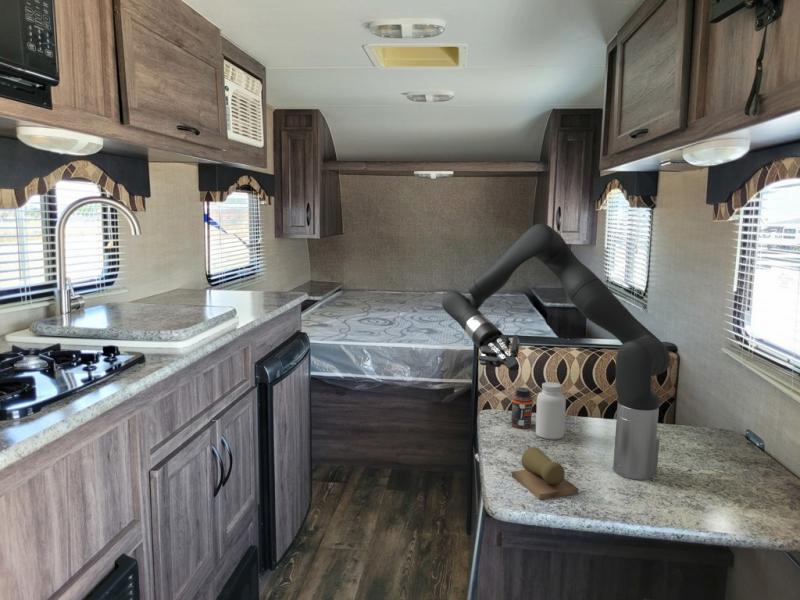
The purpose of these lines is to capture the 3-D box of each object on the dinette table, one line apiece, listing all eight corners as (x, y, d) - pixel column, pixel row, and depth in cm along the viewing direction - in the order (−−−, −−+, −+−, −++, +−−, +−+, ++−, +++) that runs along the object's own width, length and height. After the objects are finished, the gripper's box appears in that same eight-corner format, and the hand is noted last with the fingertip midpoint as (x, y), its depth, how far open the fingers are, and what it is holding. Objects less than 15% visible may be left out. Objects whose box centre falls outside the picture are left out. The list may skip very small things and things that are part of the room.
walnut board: (547, 471, 140) (548, 466, 140) (577, 493, 129) (578, 488, 129) (511, 476, 137) (511, 471, 137) (539, 499, 126) (539, 494, 126)
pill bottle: (531, 430, 167) (533, 380, 165) (557, 429, 168) (560, 380, 166) (540, 440, 159) (543, 388, 157) (568, 440, 160) (571, 388, 158)
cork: (527, 443, 139) (552, 458, 128) (547, 452, 140) (573, 468, 130) (517, 466, 138) (541, 483, 128) (537, 474, 140) (561, 492, 129)
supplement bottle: (525, 430, 167) (527, 393, 165) (507, 426, 170) (509, 389, 169) (534, 425, 172) (536, 388, 170) (516, 420, 175) (518, 385, 174)
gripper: (459, 335, 157) (490, 371, 143) (500, 312, 158) (534, 345, 144) (467, 354, 161) (497, 390, 147) (506, 331, 162) (540, 365, 148)
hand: (515, 368), depth 145 cm, fingers closed
